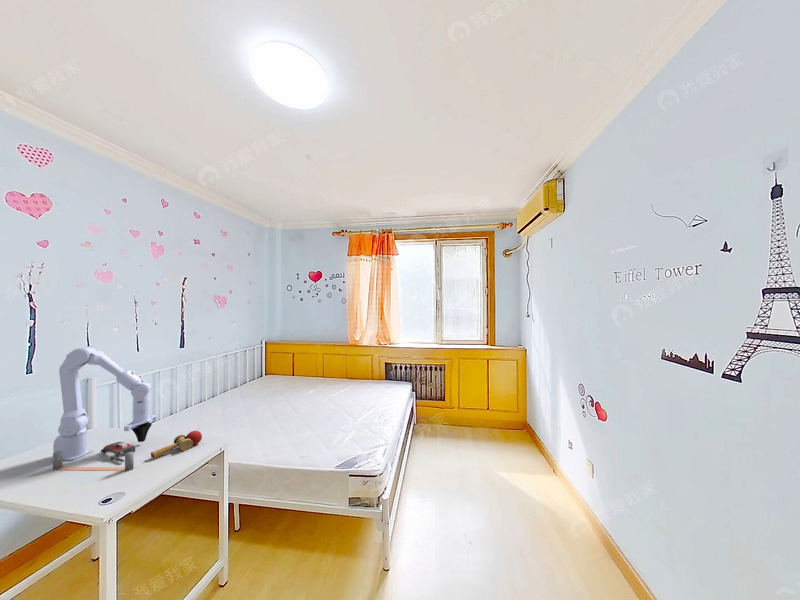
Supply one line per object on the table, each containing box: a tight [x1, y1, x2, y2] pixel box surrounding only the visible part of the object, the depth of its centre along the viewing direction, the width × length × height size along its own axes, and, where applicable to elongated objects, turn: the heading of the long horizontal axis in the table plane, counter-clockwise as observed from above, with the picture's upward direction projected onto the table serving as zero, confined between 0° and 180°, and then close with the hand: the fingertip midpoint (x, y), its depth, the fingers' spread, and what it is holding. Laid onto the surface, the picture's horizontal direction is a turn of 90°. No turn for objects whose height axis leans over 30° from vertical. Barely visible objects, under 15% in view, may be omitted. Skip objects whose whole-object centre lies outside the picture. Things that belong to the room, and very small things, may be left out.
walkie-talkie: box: [100, 441, 136, 463], centre depth 126 cm, size 9×4×20 cm
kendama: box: [150, 430, 203, 460], centre depth 129 cm, size 8×6×18 cm
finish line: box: [52, 451, 135, 472], centre depth 115 cm, size 30×2×6 cm, turn 87°
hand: (141, 441), depth 135 cm, fingers closed
